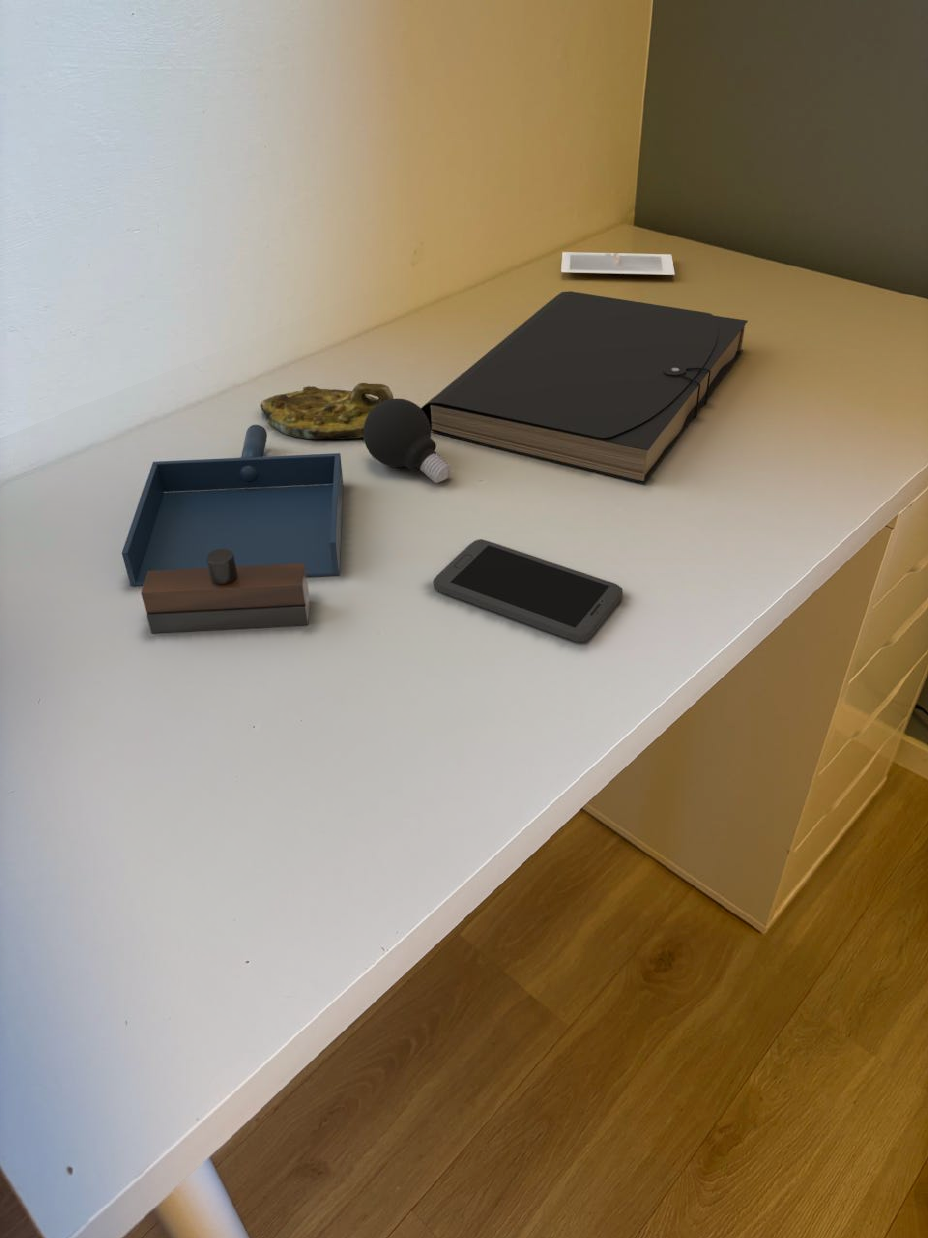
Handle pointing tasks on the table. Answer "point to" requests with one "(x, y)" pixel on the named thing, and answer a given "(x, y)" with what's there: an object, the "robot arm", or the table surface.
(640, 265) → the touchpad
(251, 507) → the dustpan
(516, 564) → the cell phone
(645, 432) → the black leather journal
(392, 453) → the light bulb
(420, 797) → the table surface
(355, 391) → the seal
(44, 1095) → the table surface
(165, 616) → the wiper
